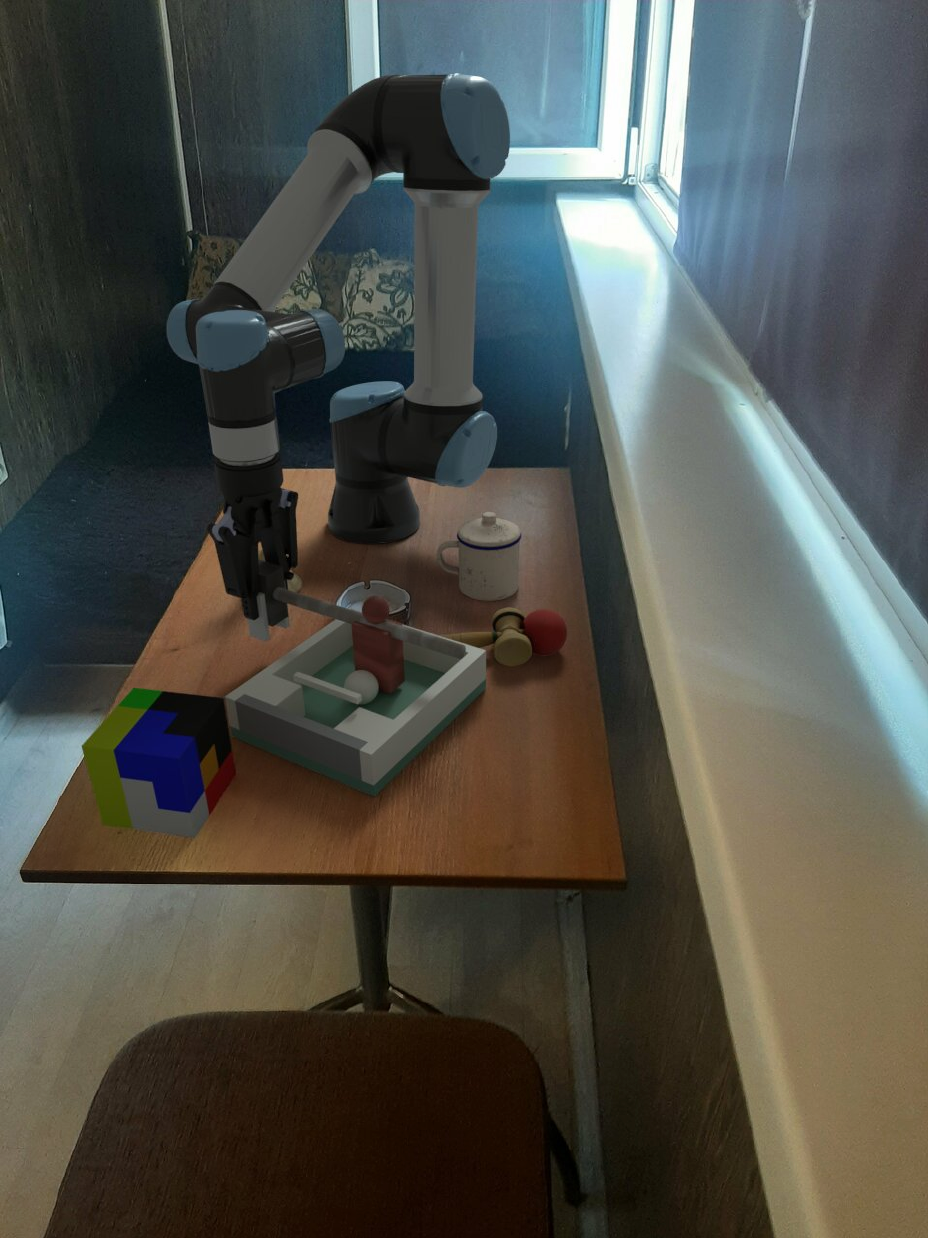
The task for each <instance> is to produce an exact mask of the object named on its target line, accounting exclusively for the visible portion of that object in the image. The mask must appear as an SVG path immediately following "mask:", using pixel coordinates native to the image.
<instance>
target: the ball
mask: <svg viewBox="0 0 928 1238" xmlns="http://www.w3.org/2000/svg"><path fill="white" fill-rule="evenodd" d="M344 688H345V689H347V690H350V691H353V692H356V693H358V694H361V697H362V701H361V702H360V703H358V704H360V705H362V704H367V703H369V702H371V701H372V700H373V699H374V698H375V697H376V695H377V693H378V689H379V685H378V681H377V679H376V677H375V676H374V675H373V674H372V673H371V672H369V671H366V670H357V671H354V672H352V673H351V674H350V675H349V676H348V677H347V678H346V680H345V683H344Z"/></svg>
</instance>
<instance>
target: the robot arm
mask: <svg viewBox="0 0 928 1238" xmlns="http://www.w3.org/2000/svg"><path fill="white" fill-rule="evenodd" d="M505 105H506V104H505V102H504V101H503V99H502V98H501V95H500V93H499V91H498V89H497V88H496V87H495V86H494V84H493V83H492V82H490V81H489V80H488V79H486V78H484V77H482V76H477V75H467V74H461V73H458V72H457V73H449V74H415V75H413V74H411V75H409V74H407V75H401V74H389V75H383V76H380V77H376V78H373V79H372V80H370V81H368V82H366V83H363V84H362V85H360V86H359V87H358V88H356V89H355V90H353V91H352V92H351V93H349V94H348V95H347V96H346V97H345V98H343V99H342V100H340V102H339V103H338V104H337V105H335V107H334V108H333V109H332V110H331V111H329V112H328V113H327V115H326V116H325V117H324V119H322V121H320V123H319V125H317V127H316V128H315V130H313V133H312V134H311V135H310V137H309V138H308V141H307V145H306V147H307V148H306V149H307V155H306V156H305V157H304V159H303V160H302V162H301V163H300V164H299V166H298V167H297V169H296V170H295V171H294V173H293V174H292V176H291V177H290V178H289V180H288V181H287V182H286V184H285V185H284V186H283V187H282V189H281V191H279V193H278V195H277V196H276V197H275V199H274V201H272V203H271V205H270V206H269V207H268V209H267V210H266V211H265V213H264V214H263V215H262V217H261V218H260V219H259V221H258V222H257V224H256V225H255V227H254V228H253V229H252V231H251V232H250V233H249V234H248V236H247V238H246V239H245V241H244V242H243V243H242V244H241V246H240V247H239V249H238V250H237V252H236V253H235V254H234V256H233V257H232V258H231V259H230V261H229V263H228V264H227V265H226V267H225V268H224V269H223V270H222V272H221V273H220V275H219V276H218V278H217V279H216V280H215V282H214V283H213V284H212V286H211V288H209V290H208V291H207V293H206V294H205V295H204V297H203V298H202V299H197V298H196V299H194V298H193V299H187V300H184V301H181V302H179V303H177V304H176V305H175V306H174V307H173V308H172V309H171V311H170V313H169V315H168V318H167V321H166V337H167V341H168V343H169V346H170V347H171V349H172V351H173V352H174V353H175V355H176V356H178V357H179V358H181V360H184V361H186V362H190V363H193V364H197V365H198V368H199V373H200V379H201V380H200V381H201V384H202V385H201V386H202V391H203V392H202V393H203V397H204V404H205V408H206V416H207V417H206V418H207V420H208V421H207V423H208V429H209V437H210V441H211V442H210V444H211V448H212V454H213V455H214V456H215V457H216V458H215V459H214V461H213V464H214V465H213V466H214V471H215V477H216V484H217V488H218V489H219V491H220V493H221V494H222V496H223V499H224V501H223V502H224V503H223V508H222V514H223V516H221V518H220V519H218V521H217V523H214V522H210V523H208V524H207V529H206V530H207V533H208V534H209V536H210V538H211V539H212V540H213V542H214V546H215V550H216V554H217V559H218V564H219V567H220V571H221V575H222V581H223V586H224V589H225V593H226V594H227V595H229V596H232V597H235V598H239V599H241V606H242V611H243V616H244V617H245V619H247V624H248V633H249V637H251V638H254V639H256V640H259V641H262V642H264V643H265V642H266V643H267V642H268V641H270V640H271V634H270V626H269V625H268V618H267V610H266V602H265V595H264V593H261V592H259V561H258V551H259V543H260V546H261V549H262V550H263V554H264V558H265V561H266V562H269V563H272V564H276V565H279V566H282V567H283V573H284V582H285V589H287V590H288V583H287V580H292V579H293V577H294V574H295V573H294V572H293V571H292V572H293V573H292V572H289V571H290V570H292V569H296V568H297V567H298V566H299V565H298V564H299V557H298V555H299V554H298V553H299V552H298V551H299V550H298V531H297V529H298V528H297V506H298V500H299V493H298V492H297V491H294V490H290V489H286V488H284V487H283V488H282V485H283V484H284V472H283V463H282V456H281V454H280V453H279V451H280V449H281V444H280V434H279V425H278V418H277V410H276V409H277V407H276V400H275V393H278V392H280V391H283V390H286V389H288V388H291V387H293V386H297V385H299V384H302V383H305V382H308V381H310V380H311V381H312V380H313V379H314V380H315V379H319V378H322V377H323V376H324V375H325V374H327V373H329V372H332V371H333V370H335V369H337V368H338V366H339V365H341V364H342V362H343V360H344V358H345V353H346V342H345V341H346V340H345V333H344V330H343V329H342V326H341V324H340V323H339V322H338V320H337V319H336V318H335V317H334V316H333V315H332V314H331V313H329V312H327V311H326V310H323V309H322V308H321V309H320V308H314V309H307V310H306V309H301V310H299V311H297V312H296V313H282V312H276V311H275V312H274V310H275V309H276V307H277V306H278V304H280V302H281V300H282V299H283V298H284V296H285V295H286V293H287V292H288V290H289V289H290V287H291V285H292V284H293V283H294V281H295V280H296V279H297V277H298V276H299V274H300V273H301V272H302V270H303V268H304V267H305V266H306V264H307V263H308V261H309V260H310V259H311V257H312V255H313V254H314V253H315V252H316V250H317V249H318V247H319V246H320V244H321V243H322V242H323V240H324V239H325V237H326V236H327V234H328V232H329V231H330V230H331V229H332V227H333V225H334V224H335V223H336V221H337V220H338V218H339V217H340V216H341V214H342V212H343V211H344V210H345V208H346V207H347V205H348V204H349V203H350V201H351V200H352V198H353V197H354V195H358V194H363V193H364V192H366V191H367V190H368V189H369V188H370V186H371V184H372V183H373V182H374V180H375V179H377V178H378V177H381V176H384V175H387V174H392V173H397V174H402V176H403V182H402V183H403V184H402V185H403V186H402V187H403V189H402V190H403V191H404V192H405V193H406V194H407V196H409V197H408V198H410V199H411V200H412V202H413V204H414V277H413V278H414V286H413V287H414V297H413V298H414V300H413V301H414V302H413V303H414V304H413V305H414V307H413V308H414V311H413V315H414V316H413V317H414V318H413V319H414V320H413V322H414V323H413V324H414V326H413V331H414V333H413V337H414V338H413V339H414V340H413V353H414V354H413V357H414V358H413V359H414V360H413V361H414V362H413V366H414V367H413V369H414V370H413V376H414V377H413V382H412V383H411V385H410V386H409V387H407V388H406V390H405V388H404V385H403V384H401V383H400V382H397V381H388V380H387V381H372V382H365V383H359V384H354V385H351V386H347V387H344V388H342V389H340V390H337V391H336V392H335V393H334V394H333V395H332V397H331V398H330V401H329V411H330V412H329V413H330V414H329V415H330V416H329V419H328V420H329V425H330V433H331V434H330V435H331V436H330V437H331V445H332V446H331V447H332V456H333V465H334V476H335V484H334V487H333V488H334V489H333V493H332V496H331V500H330V504H329V509H328V513H327V522H328V523H327V524H328V530H329V533H331V535H333V536H335V537H336V538H337V539H340V540H342V541H345V542H349V543H356V544H364V545H365V544H366V545H372V544H373V545H374V544H384V543H386V544H387V543H390V542H396V541H398V540H399V541H400V540H402V539H404V538H407V537H409V536H411V535H413V534H414V533H415V532H417V530H418V529H419V528H420V525H421V516H420V515H421V512H420V507H419V506H418V504H417V501H416V499H415V496H414V492H413V490H412V487H411V485H410V482H409V478H411V479H416V480H419V481H424V482H427V483H433V484H436V485H437V486H440V487H446V486H447V487H451V488H452V487H453V488H458V489H459V488H461V489H462V488H467V487H471V486H472V485H473V484H475V483H476V482H478V480H479V479H480V478H481V477H482V476H483V474H484V473H485V472H486V470H487V468H488V467H489V465H490V463H491V461H492V458H493V456H494V452H495V449H496V444H497V439H498V426H497V423H496V420H495V418H494V416H493V415H492V414H490V413H489V412H487V411H484V410H483V398H484V397H483V393H482V392H481V391H480V389H478V387H477V386H475V384H474V354H475V351H474V350H475V324H476V323H475V322H476V321H475V319H476V291H477V290H476V289H477V263H478V261H477V260H478V259H477V258H478V256H477V255H478V228H479V220H478V219H479V206H480V204H481V203H482V202H483V200H485V198H486V197H487V196H488V195H489V194H490V193H491V180H492V179H494V178H495V177H497V176H499V175H500V174H501V173H502V172H503V171H504V168H505V166H507V165H506V164H507V163H506V160H507V159H508V158H509V152H510V146H511V131H510V129H511V128H510V121H509V116H508V112H507V108H506V106H505ZM287 555H288V556H287ZM288 605H289V604H287V607H288ZM275 626H276V627H281V628H283V629H288V628H290V627H291V623H290V614H289V612H288V617H287V618H285V619H284V620H282V621H281V622H279V623H278V624H276V625H275Z"/></svg>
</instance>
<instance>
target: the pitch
mask: <svg viewBox="0 0 928 1238" xmlns="http://www.w3.org/2000/svg"><path fill="white" fill-rule="evenodd" d="M350 609H351V610H354V611H357V612H360V613H362V610H358V609H355V608H350ZM402 626H405V627H408V628H411V629H414V630H417V631H421V632H424V633H427V634H430V635H433V636H437V637H440V638H443V639H446V640H449V641H452V642H456V643H459V644H462V645H465V647H466V652H465V655H464V657H463V658H462V659H458V658H455V657H452V656H449V655H446V654H442V653H439V652H436V651H433V650H430V649H427V648H424V647H421V646H418V645H415V644H411V643H408V642H405V641H403V654H404V675H405V682H403V683H402V684H401V685H400V686H399V687H398V688H396V689H395V690H394V691H393V692H392V693H387V692H384V691H381V690H379V689H378V693H377V695H376V697H375V698H374V699H373V700H372V701H371V702H369V703H367V704H362V705H360V704H358V703H360V702H361V701H362V697H361V694H358V693H356V692H353V691H350V690H347V689H345V688H344V683H345V680H346V678H347V677H348V676H349V675H350V674H351V673H352V672H354V671H355V663H354V650H353V638H352V625H351V624H349V623H346V622H343V621H340V620H337V619H334V620H333V621H331V622H330V623H328V624H327V625H325V626H324V627H322V628H321V629H320V630H318V631H317V632H315V633H313V635H311V636H310V637H308V638H307V639H305V640H303V641H302V642H300V643H299V644H298V645H297V646H296V647H294V648H293V649H291V650H289V651H288V652H287V653H285V654H284V655H283V656H281V657H280V658H278V659H277V660H276V661H274V662H273V663H271V664H269V665H268V666H267V667H266V668H264V669H262V670H261V671H260V672H258V673H257V674H256V675H254V676H253V677H251V678H250V679H248V680H247V681H245V682H244V683H243V684H241V685H240V686H238V687H237V688H236V689H234V690H232V691H231V692H229V693H227V694H226V695H225V696H224V701H225V705H226V706H225V707H226V714H227V720H228V726H229V729H230V731H229V732H230V738H234V739H237V740H239V741H240V742H241V741H242V742H243V743H246V744H247V745H250V746H253V747H256V748H257V749H260V750H262V751H264V752H267V753H269V754H272V755H275V756H277V757H279V758H281V759H283V760H286V761H288V762H291V763H294V764H296V765H299V766H300V767H303V768H305V769H307V770H310V771H312V772H314V771H315V772H314V773H316V774H319V775H321V776H325V777H327V778H329V779H332V780H334V781H336V782H338V783H340V784H343V785H345V786H348V787H350V788H353V789H355V790H357V791H360V792H362V793H364V794H367V795H369V796H372V797H376V796H377V795H378V794H379V793H380V792H381V791H382V790H383V789H384V788H385V787H386V786H387V785H388V784H389V783H390V782H391V781H392V780H393V779H394V778H396V777H397V776H398V775H399V774H400V772H402V771H403V770H404V769H405V768H406V767H407V766H408V765H409V764H410V763H411V762H412V761H413V760H414V759H415V758H416V757H417V756H418V755H419V754H420V753H422V752H423V750H424V749H425V748H427V747H428V745H430V743H432V742H433V741H434V740H435V739H436V738H437V737H438V736H439V735H440V734H441V733H442V732H443V731H444V730H445V729H446V728H447V727H448V726H449V725H450V724H451V723H452V722H453V721H455V720H456V719H457V717H458V716H460V715H461V713H463V712H464V711H465V709H467V708H468V707H469V706H470V705H471V704H472V703H473V702H474V701H475V700H476V699H477V698H478V697H479V696H480V695H481V694H482V693H483V692H484V691H486V690H487V650H485V649H483V648H477V647H473V646H470V645H467V644H464V643H461V642H457V641H454V640H451V639H448V638H445V637H441V636H438V634H435V633H433V632H428V631H425V630H422V629H418V628H415V627H413V626H409V625H406V624H404V623H402Z"/></svg>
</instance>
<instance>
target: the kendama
mask: <svg viewBox="0 0 928 1238" xmlns="http://www.w3.org/2000/svg"><path fill="white" fill-rule="evenodd" d="M491 618H492V619H491V628H492V629H493V631H474V632H473V631H472V632H461V633H453V634H452V633H448V634H447V633H446V634H439V635H438V634H437V635H438V636H441V637H445V638H448V639H451V640H454V641H457V642H461V643H464V644H467V645H470V646H473V647H477V648H480V649H482V648H485V647H487V646H491V645H493V653H494V658H495V659H496V661H497V662H498V663H499V664H501V665H503V666H506V667H518V666H522V665H523V664H526V663H527V662H528V661H529V660H530V658H531V656H532V654H534V655H536V656H540V657H547V656H552V655H554V654H556V653H558V652H559V651H560V650H562V648H563V647H564V645H565V643H566V641H567V637H568V628H567V623H566V622H565V620H564V618H563V617H562V616H561V615H560V614H559V613H557V612H556V611H554V610H551V609H544V608H541V609H536V610H534V611H532V612H530V613H529V614H528V615H526V616H525V614H524V613H523V612H522V611H521V610H520V609H518V608H515V607H503V608H501V609H498V610H497V611H496V612H495V613H494V614H493V616H492V617H491Z"/></svg>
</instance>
